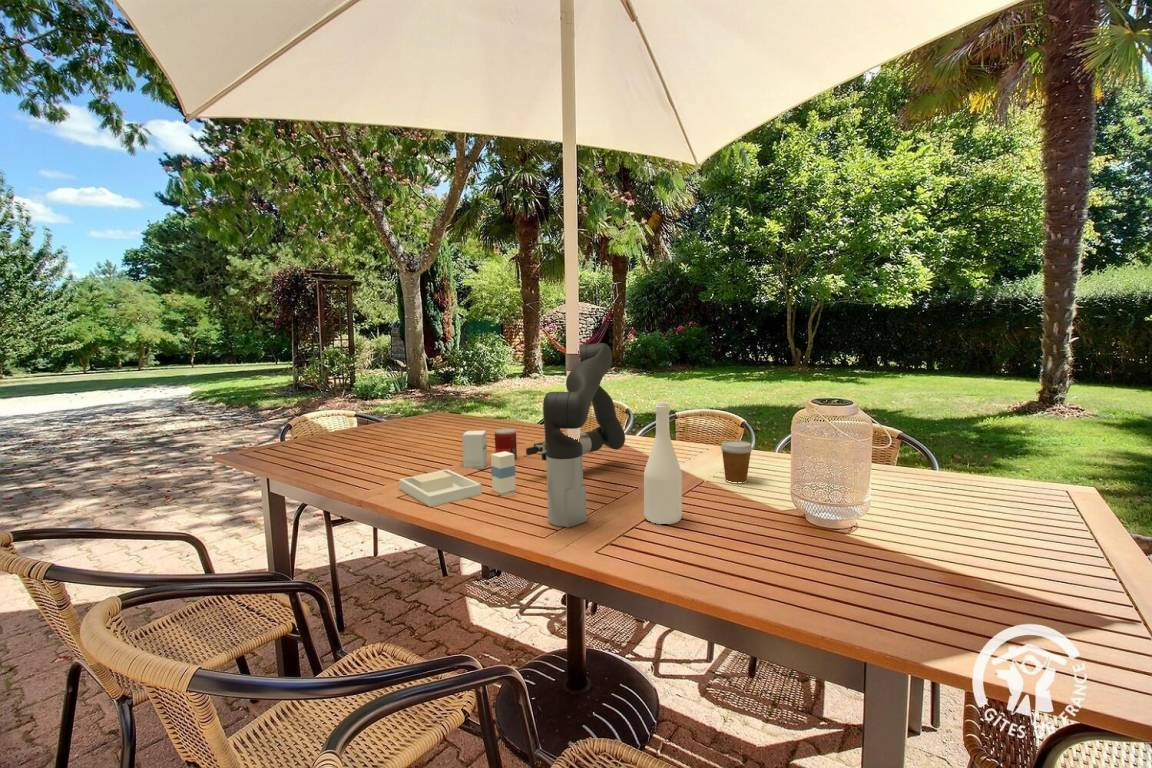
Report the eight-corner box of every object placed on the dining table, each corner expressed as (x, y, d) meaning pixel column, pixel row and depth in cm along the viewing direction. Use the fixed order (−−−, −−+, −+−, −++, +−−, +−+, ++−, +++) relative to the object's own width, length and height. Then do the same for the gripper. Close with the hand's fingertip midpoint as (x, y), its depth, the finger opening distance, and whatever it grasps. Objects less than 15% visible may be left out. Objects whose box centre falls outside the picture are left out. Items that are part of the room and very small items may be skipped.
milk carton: (515, 493, 159) (514, 454, 157) (501, 497, 156) (499, 457, 154) (506, 489, 163) (505, 451, 161) (492, 493, 159) (490, 454, 158)
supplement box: (484, 470, 185) (482, 434, 184) (463, 470, 185) (461, 434, 184) (488, 464, 192) (486, 430, 191) (467, 464, 192) (466, 430, 191)
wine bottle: (659, 509, 142) (658, 399, 139) (689, 518, 136) (689, 402, 132) (636, 519, 136) (635, 403, 132) (667, 529, 129) (666, 407, 126)
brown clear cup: (718, 476, 171) (718, 439, 170) (748, 476, 170) (749, 440, 169) (722, 485, 162) (722, 446, 161) (754, 485, 161) (755, 447, 159)
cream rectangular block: (452, 486, 163) (452, 475, 163) (421, 493, 157) (421, 482, 156) (442, 481, 168) (442, 471, 168) (412, 488, 162) (411, 477, 162)
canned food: (515, 461, 195) (514, 432, 194) (494, 462, 195) (492, 432, 194) (518, 456, 203) (517, 428, 202) (497, 456, 203) (496, 428, 202)
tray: (481, 497, 155) (481, 484, 155) (430, 510, 145) (429, 496, 145) (448, 481, 172) (447, 469, 172) (399, 491, 162) (399, 479, 162)
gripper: (561, 430, 181) (521, 438, 170) (588, 437, 170) (547, 446, 159) (561, 452, 182) (522, 461, 171) (588, 460, 171) (548, 470, 160)
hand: (534, 454), depth 165 cm, fingers open, 8 cm apart
